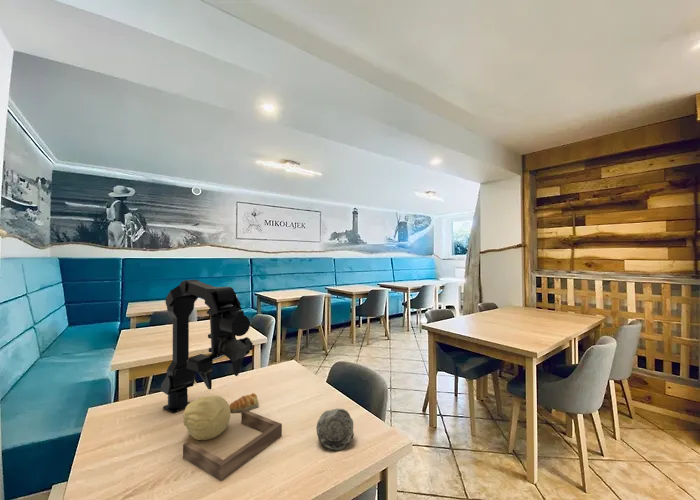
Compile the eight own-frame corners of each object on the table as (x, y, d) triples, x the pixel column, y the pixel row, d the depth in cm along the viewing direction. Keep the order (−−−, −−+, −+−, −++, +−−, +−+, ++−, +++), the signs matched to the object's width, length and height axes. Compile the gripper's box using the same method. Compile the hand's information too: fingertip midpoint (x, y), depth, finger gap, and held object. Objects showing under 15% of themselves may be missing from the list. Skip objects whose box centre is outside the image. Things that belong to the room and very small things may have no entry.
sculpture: (176, 444, 83) (176, 405, 83) (203, 420, 95) (203, 386, 95) (214, 448, 81) (215, 408, 81) (237, 423, 93) (237, 388, 93)
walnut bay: (182, 457, 77) (182, 444, 77) (245, 420, 94) (245, 409, 94) (221, 480, 69) (221, 465, 69) (281, 436, 87) (281, 423, 87)
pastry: (232, 416, 97) (232, 404, 97) (226, 408, 102) (226, 397, 102) (260, 407, 103) (260, 396, 103) (252, 400, 108) (253, 389, 108)
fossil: (325, 456, 77) (317, 414, 81) (314, 455, 84) (307, 415, 88) (361, 443, 82) (352, 403, 86) (348, 442, 89) (340, 405, 93)
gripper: (210, 344, 76) (213, 404, 76) (264, 324, 92) (266, 374, 93) (184, 338, 81) (186, 394, 82) (239, 320, 98) (241, 367, 98)
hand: (223, 382), depth 89 cm, fingers open, 9 cm apart
